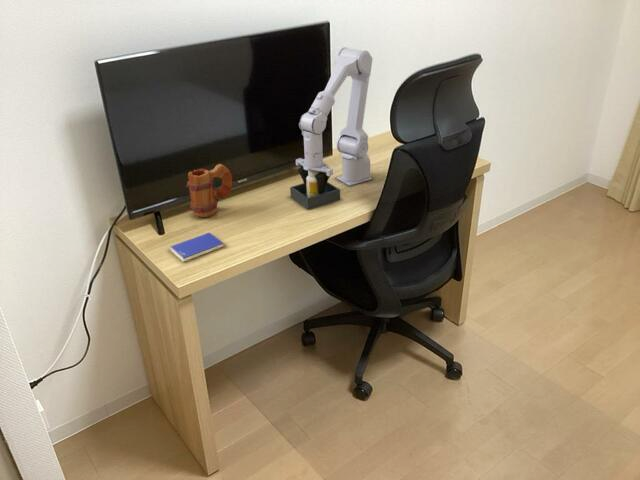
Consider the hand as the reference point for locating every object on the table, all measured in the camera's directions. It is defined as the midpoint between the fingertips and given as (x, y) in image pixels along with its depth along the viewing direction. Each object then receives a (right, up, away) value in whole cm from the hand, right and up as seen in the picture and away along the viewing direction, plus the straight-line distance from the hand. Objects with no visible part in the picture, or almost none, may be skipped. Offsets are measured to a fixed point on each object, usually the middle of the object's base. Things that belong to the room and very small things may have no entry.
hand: (314, 190), depth 188 cm
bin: (0, -3, +2) cm, 3 cm away
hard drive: (-33, -19, -24) cm, 45 cm away
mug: (-32, -7, -5) cm, 34 cm away
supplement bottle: (0, -2, +1) cm, 3 cm away
